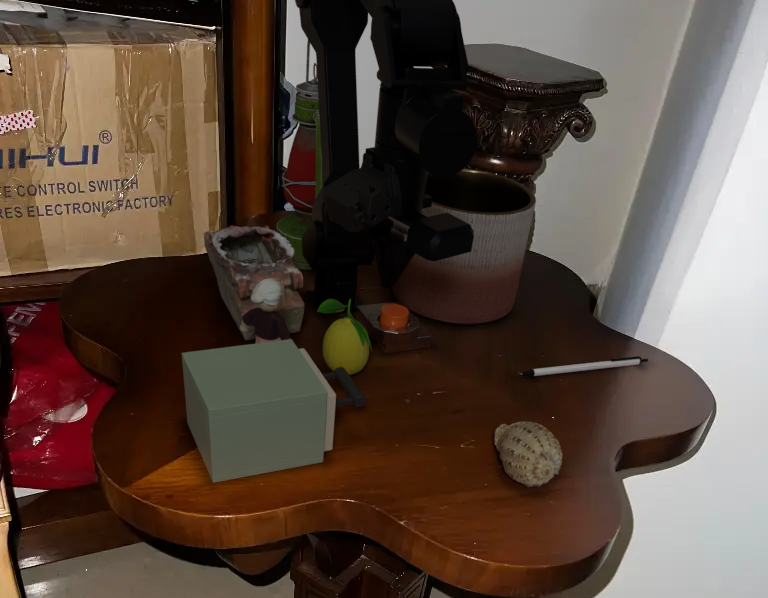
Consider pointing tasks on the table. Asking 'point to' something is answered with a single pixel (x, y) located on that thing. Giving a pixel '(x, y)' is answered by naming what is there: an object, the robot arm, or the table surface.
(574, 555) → the table surface
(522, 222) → the planter
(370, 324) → the control block
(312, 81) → the lantern
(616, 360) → the pen
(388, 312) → the button
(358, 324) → the lemon
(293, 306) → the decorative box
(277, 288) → the grandmother figurine
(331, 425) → the drawer
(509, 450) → the seashell
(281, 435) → the cabinet
